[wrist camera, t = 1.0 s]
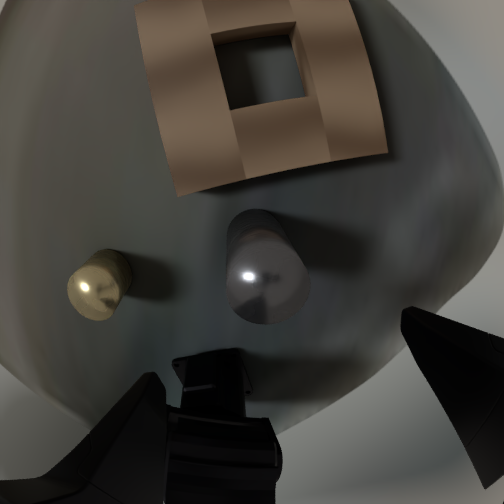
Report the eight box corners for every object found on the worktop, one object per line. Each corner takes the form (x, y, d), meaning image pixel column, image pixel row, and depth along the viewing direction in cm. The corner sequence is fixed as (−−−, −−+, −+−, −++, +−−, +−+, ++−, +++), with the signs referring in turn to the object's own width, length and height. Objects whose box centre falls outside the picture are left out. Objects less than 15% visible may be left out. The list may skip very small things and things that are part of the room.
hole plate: (371, 150, 19) (388, 152, 17) (183, 190, 19) (177, 197, 17) (327, -11, 14) (337, -25, 11) (143, 18, 14) (134, 5, 11)
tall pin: (286, 254, 21) (314, 313, 14) (234, 266, 21) (238, 331, 14) (275, 203, 20) (303, 240, 13) (220, 216, 20) (215, 262, 13)
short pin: (139, 288, 22) (124, 316, 18) (100, 297, 22) (82, 323, 18) (121, 243, 20) (101, 265, 16) (82, 255, 20) (59, 277, 16)
